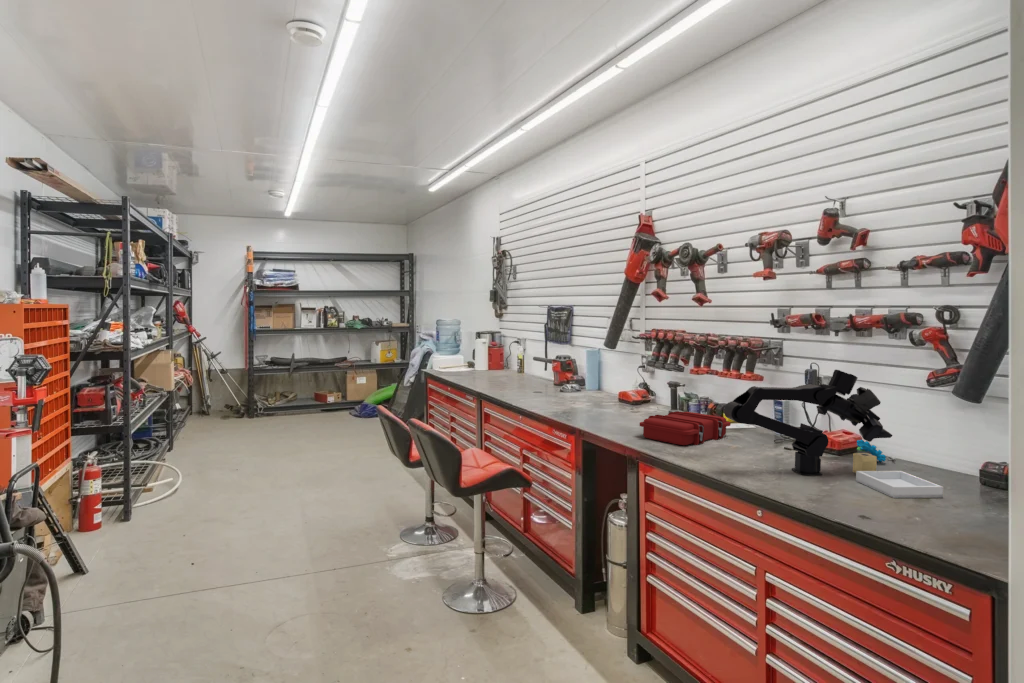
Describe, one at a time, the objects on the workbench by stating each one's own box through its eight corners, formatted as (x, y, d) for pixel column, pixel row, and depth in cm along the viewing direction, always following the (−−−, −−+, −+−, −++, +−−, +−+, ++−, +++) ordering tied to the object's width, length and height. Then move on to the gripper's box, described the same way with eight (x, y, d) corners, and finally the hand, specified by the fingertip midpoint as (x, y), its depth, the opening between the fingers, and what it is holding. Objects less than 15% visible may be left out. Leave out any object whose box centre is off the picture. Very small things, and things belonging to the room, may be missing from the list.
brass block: (861, 475, 180) (862, 456, 180) (852, 471, 185) (853, 452, 184) (875, 475, 180) (876, 456, 180) (866, 471, 185) (867, 452, 184)
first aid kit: (687, 449, 214) (688, 426, 214) (636, 438, 232) (637, 417, 232) (732, 437, 235) (733, 416, 235) (682, 428, 253) (682, 408, 252)
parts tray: (893, 497, 158) (893, 487, 158) (855, 480, 174) (856, 471, 174) (942, 497, 159) (943, 486, 159) (900, 480, 175) (901, 470, 175)
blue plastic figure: (893, 460, 192) (871, 439, 193) (882, 473, 192) (860, 451, 192) (872, 457, 203) (851, 436, 204) (860, 469, 203) (840, 448, 203)
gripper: (870, 404, 170) (917, 426, 171) (848, 372, 186) (890, 393, 187) (845, 431, 175) (890, 452, 176) (825, 398, 192) (867, 418, 192)
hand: (885, 427), depth 183 cm, fingers open, 9 cm apart
